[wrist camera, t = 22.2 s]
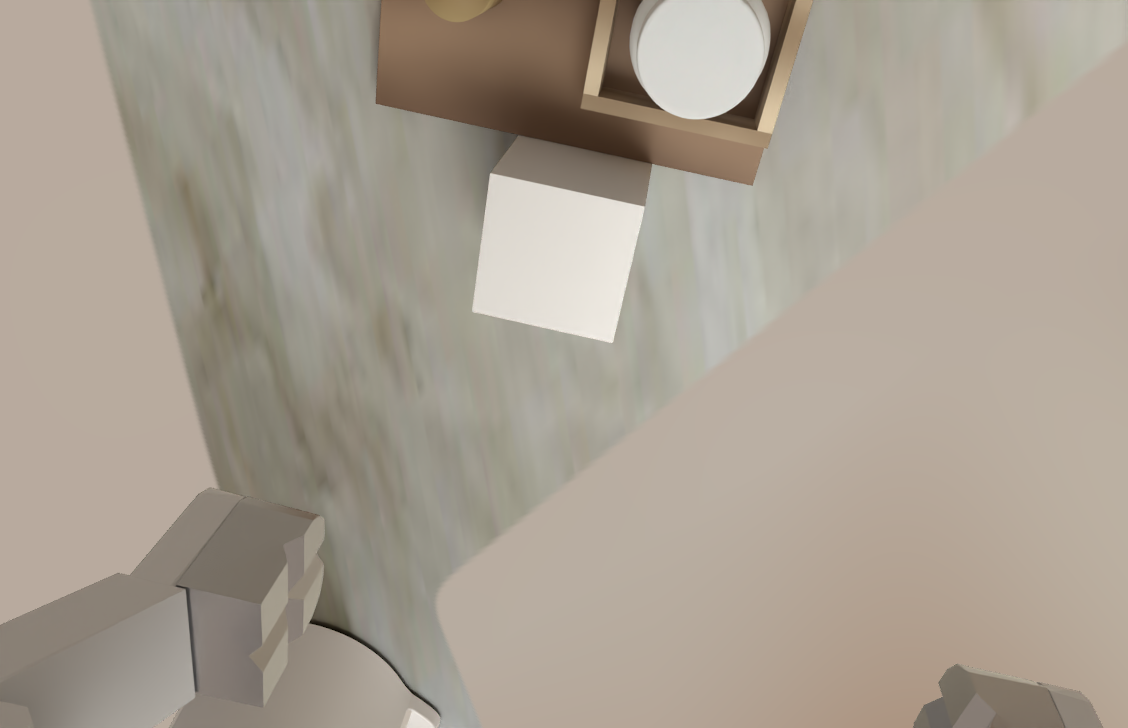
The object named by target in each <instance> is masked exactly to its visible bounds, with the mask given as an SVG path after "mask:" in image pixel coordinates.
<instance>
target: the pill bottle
mask: <svg viewBox="0 0 1128 728" xmlns="http://www.w3.org/2000/svg"><path fill="white" fill-rule="evenodd" d="M769 47H770V21H769V18H768V14H767V11H766V9H765V7H764V5H763V2H762V0H642V1H641V3H640V5H639V7H638V8H637V11H636V14H635V16H634V19H633V23H632V27H631V32H630V44H629V48H630V56H631V61H632V65H633V68H634V71H635V74H636V76H637V78H638V80H639V82H640V84H641V85H642V87H643V88H644V89H645V91H646V92H647V93H648V95H649V96H650V97H651V98H652V100H653V101H654V102H655V103H656V104H657V105H658V106H660V107H661V108H662V109H664V110H665V111H667V112H669V113H671V114H673V115H676V116H678V117H681V118H686V119H707V118H711V117H715V116H718V115H721V114H723V113H725V112H727V111H729V110H731V109H732V108H733V107H735V106H736V105H737V104H739V103H740V102H741V101H742V100H743V99H744V98H745V97H746V96H747V95H748V93H749V92H750V91H751V89H752V88H753V87H754V85H755V83H756V81H757V79H758V78H759V76H760V74H761V72H762V70H763V68H764V66H765V63H766V60H767V57H768V52H769Z"/></svg>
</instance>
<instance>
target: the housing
mask: <svg viewBox="0 0 1128 728" xmlns="http://www.w3.org/2000/svg"><path fill="white" fill-rule="evenodd" d="M651 167H652V164H651V163H646V162H642V161H637V160H632V159H628V158H623V157H619V156H614V155H609V154H605V153H600V152H596V151H591V150H586V149H582V148H577V147H573V146H568V145H564V144H559V143H554V142H550V141H545V140H541V139H536V138H531V137H527V136H522V135H519V136H518V137H517V138H516V140H515V141H514V142H513V144H512V145H511V146H510V148H509V149H508V150H507V152H506V153H505V154H504V155H503V157H502V158H501V159H500V161H499V162H498V163H497V165H496V166H495V167H494V169H493V170H492V171H491V173H490V178H489V186H488V193H487V201H486V209H485V216H484V224H483V232H482V239H481V247H480V255H479V262H478V270H477V278H476V285H475V293H474V301H473V308H472V312H475V313H480V314H484V315H489V316H493V317H498V318H502V319H507V320H511V321H516V322H520V323H525V324H529V325H534V326H538V327H543V328H547V329H552V330H556V331H560V332H565V333H569V334H574V335H578V336H583V337H587V338H592V339H596V340H601V341H605V342H610V343H613V340H614V335H615V331H616V327H617V323H618V319H619V314H620V310H621V306H622V302H623V297H624V293H625V289H626V285H627V281H628V276H629V272H630V268H631V264H632V259H633V255H634V251H635V247H636V242H637V238H638V234H639V230H640V226H641V221H642V217H643V213H644V209H645V203H646V197H647V191H648V185H649V179H650V173H651Z"/></svg>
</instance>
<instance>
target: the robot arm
mask: <svg viewBox="0 0 1128 728" xmlns="http://www.w3.org/2000/svg"><path fill="white" fill-rule="evenodd" d="M324 539H325V519H324V518H323V517H321V516H320V515H317V514H313V513H309V512H305V511H302V510H298V509H294V508H290V507H286V506H282V505H279V504H275V503H271V502H267V501H263V500H259V499H256V498H252V497H245V496H241V495H237V494H233V493H229V492H226V491H222V490H218V489H214V488H208V489H207V490H205V491H203V492H201V493H200V494H198V495H197V496H196V498H195V499H194V500H193V501H192V502H191V503H190V505H189V506H188V507H187V508H186V509H185V511H184V512H183V513H182V514H181V515H180V516H179V518H178V519H177V520H176V521H175V522H174V524H173V525H172V526H171V527H170V528H169V530H168V531H167V532H166V533H165V534H164V535H163V537H162V538H161V539H160V540H159V542H158V543H157V544H156V545H155V546H154V547H153V549H152V550H151V551H150V552H149V553H148V554H147V556H146V557H145V558H144V559H143V560H142V562H141V563H140V564H139V565H138V566H137V567H136V569H135V570H134V571H133V572H132V573H131V575H125V574H120V573H117V574H115V575H113V576H110V577H108V578H106V579H103V580H101V581H99V582H96V583H94V584H92V585H90V586H88V587H85V588H83V589H81V590H78V591H76V592H74V593H72V594H70V595H67V596H65V597H62V598H60V599H58V600H56V601H53V602H51V603H49V604H47V605H44V606H42V607H40V608H37V609H35V610H33V611H31V612H28V613H26V614H24V615H22V616H20V617H17V618H15V619H12V620H10V621H8V622H6V623H3V624H1V625H0V728H153V727H154V726H155V725H157V724H159V723H160V722H162V721H163V720H164V719H165V718H167V717H168V716H170V715H171V714H173V713H174V712H176V711H177V710H178V712H177V714H176V716H175V717H174V719H173V721H172V723H171V725H170V727H169V728H438V726H439V724H440V716H439V715H438V713H437V712H436V711H435V710H434V709H433V708H431V707H430V706H429V705H428V704H426V703H425V702H423V701H422V700H421V699H419V698H418V697H416V696H415V695H413V694H412V693H411V692H410V691H409V690H408V689H407V688H406V686H405V685H404V684H403V682H402V681H401V680H400V678H399V677H398V675H397V674H396V673H395V672H394V670H393V669H392V668H391V667H390V666H389V665H388V664H387V663H386V662H385V661H384V660H383V659H382V658H380V657H379V656H378V655H377V654H376V653H374V652H373V651H372V650H370V649H369V648H367V647H366V646H364V645H362V644H361V643H359V642H357V641H356V640H354V639H352V638H350V637H348V636H346V635H343V634H341V633H339V632H336V631H334V630H331V629H328V628H325V627H321V626H318V625H313V624H309V622H310V620H311V618H312V616H313V613H314V610H315V607H316V605H317V602H318V599H319V596H320V592H321V587H322V581H323V572H324V563H323V562H322V560H321V559H320V557H319V556H318V555H317V551H318V549H319V547H320V546H321V544H322V542H323V540H324ZM939 686H940V689H941V692H942V696H943V697H941V698H939V699H937V700H935V701H932V702H930V703H928V704H926V705H924V706H923V708H922V710H921V711H920V713H919V715H918V717H917V719H916V721H915V722H914V726H913V728H1103V726H1102V724H1101V722H1100V720H1099V718H1098V716H1097V714H1096V712H1095V710H1094V708H1093V706H1092V704H1091V702H1090V701H1089V700H1088V698H1087V697H1085V696H1084V695H1083V694H1082V693H1081V692H1080V691H1076V690H1072V689H1067V688H1063V687H1058V686H1053V685H1049V684H1044V683H1040V682H1037V683H1035V682H1033V681H1031V680H1027V679H1022V678H1018V677H1013V676H1009V675H1004V674H1000V673H995V672H991V671H986V670H982V669H978V668H973V667H969V666H964V665H960V664H956V665H954V666H952V667H951V668H949V669H947V671H946V672H945V674H944V675H943V677H942V678H941V680H940V681H939Z"/></svg>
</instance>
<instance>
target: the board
mask: <svg viewBox="0 0 1128 728" xmlns="http://www.w3.org/2000/svg"><path fill="white" fill-rule="evenodd" d="M641 1H642V0H381V17H380V35H379V53H378V71H377V89H376V104H380V105H384V106H389V107H394V108H398V109H403V110H407V111H412V112H417V113H421V114H426V115H430V116H435V117H439V118H444V119H449V120H453V121H458V122H462V123H467V124H472V125H476V126H481V127H485V128H490V129H495V130H499V131H504V132H508V133H513V134H518V135H522V136H527V137H531V138H536V139H541V140H545V141H550V142H554V143H559V144H564V145H568V146H573V147H577V148H582V149H586V150H591V151H596V152H600V153H605V154H609V155H614V156H619V157H623V158H628V159H632V160H637V161H642V162H646V163H651V164H655V165H660V166H665V167H669V168H674V169H678V170H683V171H688V172H692V173H697V174H701V175H706V176H711V177H715V178H720V179H724V180H729V181H733V182H738V183H743V184H747V185H752V186H753V182H754V179H755V176H756V172H757V169H758V166H759V163H760V159H761V156H762V153H763V150H764V148H766V149H768V145H769V142H770V139H771V136H772V132H773V129H774V126H775V123H776V119H777V116H778V113H779V110H780V107H781V103H782V100H783V97H784V94H785V90H786V87H787V84H788V81H789V77H790V74H791V71H792V68H793V64H794V61H795V58H796V55H797V51H798V48H799V45H800V42H801V38H802V35H803V32H804V29H805V26H806V22H807V19H808V16H809V13H810V9H811V6H812V3H813V0H762V2H763V5H764V7H765V9H766V11H767V14H768V18H769V21H770V47H769V52H768V57H767V60H766V63H765V66H764V68H763V70H762V72H761V74H760V76H759V78H758V79H757V81H756V83H755V85H754V87H753V88H752V89H751V91H750V92H749V93H748V95H747V96H746V97H745V98H744V99H743V100H742V101H741V102H740V103H739V104H737V105H736V106H735V107H733V108H732V109H731V110H729V111H727V112H725V113H723V114H721V115H718V116H715V117H711V118H707V119H686V118H681V117H678V116H676V115H673V114H671V113H669V112H667V111H665V110H664V109H662V108H661V107H660V106H658V105H657V104H656V103H655V102H654V101H653V100H652V98H651V97H650V96H649V95H648V93H647V92H646V91H645V89H644V88H643V87H642V85H641V84H640V82H639V80H638V78H637V76H636V74H635V71H634V68H633V65H632V61H631V56H630V48H629V44H630V32H631V27H632V23H633V19H634V16H635V14H636V11H637V8H638V7H639V5H640V3H641Z"/></svg>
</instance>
